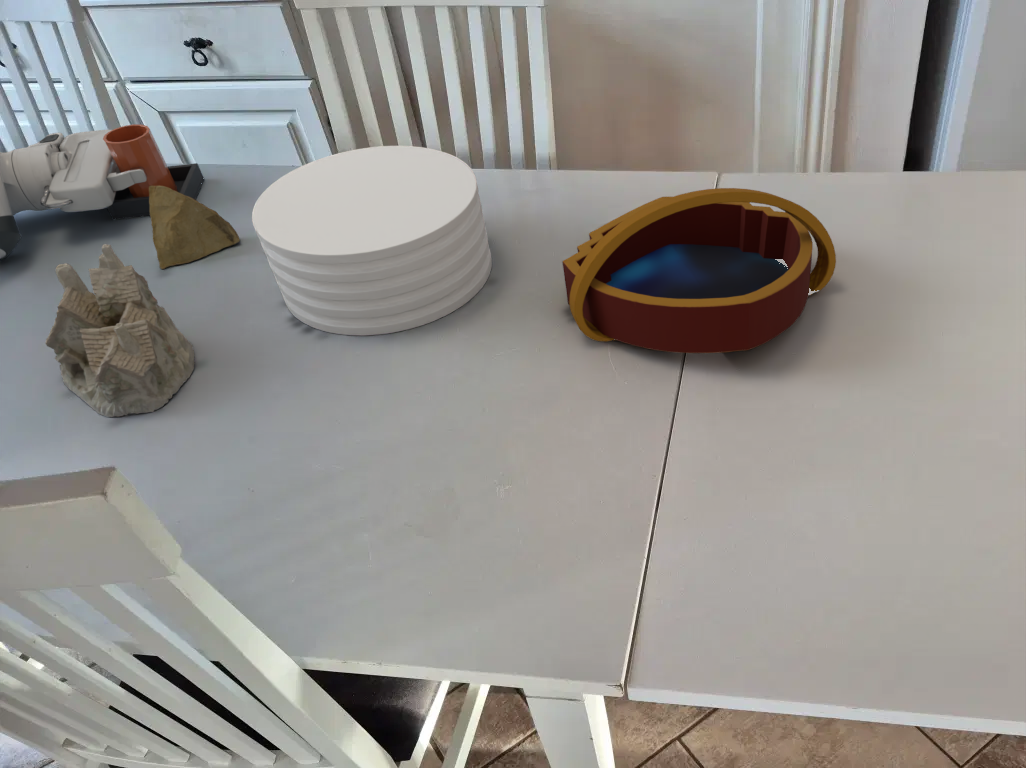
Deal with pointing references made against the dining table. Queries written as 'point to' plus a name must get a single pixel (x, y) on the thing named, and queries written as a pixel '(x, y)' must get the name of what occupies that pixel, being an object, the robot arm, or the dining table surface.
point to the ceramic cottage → (117, 340)
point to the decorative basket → (698, 272)
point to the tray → (129, 207)
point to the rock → (185, 228)
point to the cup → (139, 157)
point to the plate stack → (375, 239)
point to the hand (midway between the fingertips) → (148, 161)
